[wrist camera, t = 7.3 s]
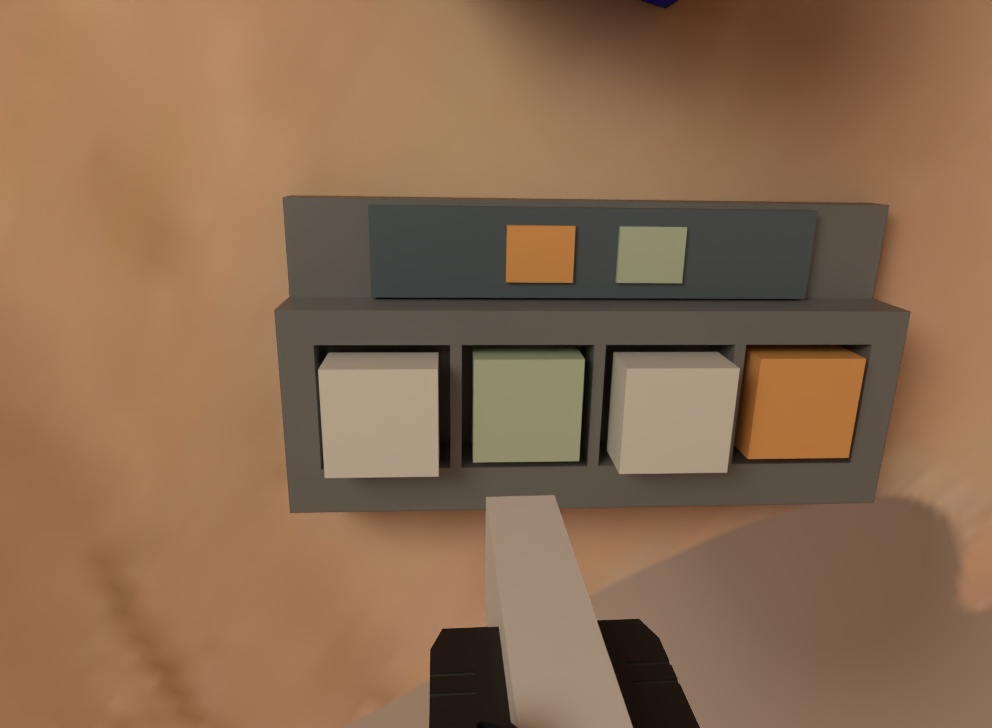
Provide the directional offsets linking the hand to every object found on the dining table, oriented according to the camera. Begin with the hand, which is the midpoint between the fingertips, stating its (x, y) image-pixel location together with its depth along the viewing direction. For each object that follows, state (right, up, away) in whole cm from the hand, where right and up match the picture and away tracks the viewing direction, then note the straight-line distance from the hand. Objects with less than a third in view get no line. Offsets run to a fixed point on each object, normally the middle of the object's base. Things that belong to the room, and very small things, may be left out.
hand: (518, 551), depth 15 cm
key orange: (+10, +3, +11) cm, 16 cm away
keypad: (+3, +5, +12) cm, 14 cm away
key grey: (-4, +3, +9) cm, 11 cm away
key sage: (0, +3, +11) cm, 11 cm away
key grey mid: (+6, +3, +10) cm, 12 cm away
